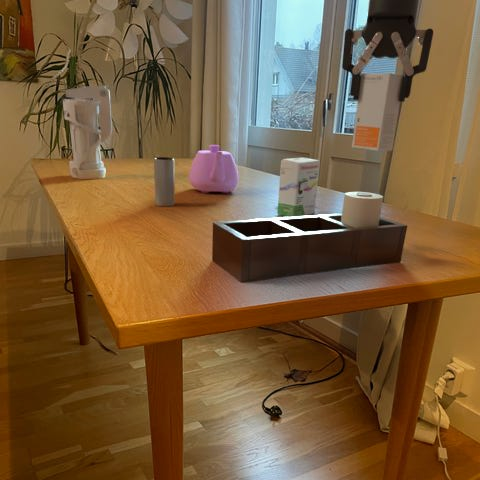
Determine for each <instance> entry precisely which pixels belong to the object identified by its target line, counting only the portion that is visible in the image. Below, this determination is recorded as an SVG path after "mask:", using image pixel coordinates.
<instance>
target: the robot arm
mask: <svg viewBox="0 0 480 480" xmlns="http://www.w3.org/2000/svg"><path fill="white" fill-rule="evenodd" d="M418 5H419V0H368V7H367V12H366V13H367V15H366V22H365V25H364V27H362V29H356V30H355V29H351V28H347V29H346V30H345V31H344V39H343V40H344V42H343V51H342V64H341V67H342V70H343V71H345V72H348V73H350V74H351V82H350V90H349V93H350V96H351V97H352V99H353V100H354V101H358V95H359V87H360V79H361V74H363V72H364V70H365V68H366V67H367V65H368V64H369V63H370V62H371V60H373V58H375V59H383V58H388V59H392V60H393V59H396V58H399V60H400V62H401V65H402V67H403V70H404V72H405V73H404V77H403V83H402V90H401V96H400V103H405V101H406V99H409V98H410V96H411V91H412V86H413V85H412V84H413V81H414V80H413V79H414V77H415V76H416V75H418V74H419V75H420V74H423V73H425V72H426V70H427V67H428V62H429V58H430V52H431V48H432V44H433V39H434V29H432V28H427V29H417V28H416V18H417V11H418ZM415 38H417V39H418V42H417V43H418V45H419V46H421V47H422V48H421V51H420V56H419V62H418V64H416V65H412V61H411V59H410V57H409V55H408V52H407V50H406V49H407V48H408V47H409V46H410V45H411V43H412V42H413V41H414V39H415ZM360 39H362V41H363V43H364V44H365V46H366V48H365V49H364V51H363V52H362V54H361V55H360V57H359V59H358V60H357V62H356V64H353V55H354V46H356V45H357V44H358V43H359V40H360Z"/></svg>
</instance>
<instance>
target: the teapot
mask: <svg viewBox="0 0 480 480" xmlns="http://www.w3.org/2000/svg"><path fill="white" fill-rule="evenodd" d="M208 147H209V150H198V151H197V152H196V154H195V157H194V158H193V161H192V163H191V166H190V169H189V177H188V180H189V183H190V185H191V187H192V188H194V189H195V190H197V191H200V193H202V194H208V193H210V192H220V193H221V194H229V193H230V192H232V191H234V190H235V189H236V187H237V186H238V184H239V172H238V168H237V165H236V164H237V163H236V161H235V159H234V157H233V155H232V153H231V152H229V151H225V150H220V148H221V146H220V145H218V144H209V145H208Z"/></svg>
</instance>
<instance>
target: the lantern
mask: <svg viewBox="0 0 480 480" xmlns="http://www.w3.org/2000/svg"><path fill="white" fill-rule="evenodd" d="M107 87H108V85H89V86H88V85H87V86H80V87H75V88H68V89H64V92H65V98H63V99H62V107H63V117H64V120H66V121H69V130H70V132H69V133H70V141H71V153H72V160H70V161H68V165H69V172H70V175H71V178H73V179H81V180H99V179H104V178H105V177H106V173H107V168H106V167H105V165H104V161H102V155H101V146H100V145H102V144H103V143H106V141H107V140H108V139H109V137H110V136H111V135H112V133H113V121H112V106H111V93H110V92H111V91H110V89H108V88H107ZM96 99H97V100H96Z"/></svg>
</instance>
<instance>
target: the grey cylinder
mask: <svg viewBox="0 0 480 480" xmlns="http://www.w3.org/2000/svg"><path fill="white" fill-rule="evenodd" d="M153 180H154V183H153V184H154V203H155V206H158V207H173V206H175V205H176V192H175V191H176V190H175V186H176V185H175V158H174V157H167V156H158V157H157V156H156V157H153Z"/></svg>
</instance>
